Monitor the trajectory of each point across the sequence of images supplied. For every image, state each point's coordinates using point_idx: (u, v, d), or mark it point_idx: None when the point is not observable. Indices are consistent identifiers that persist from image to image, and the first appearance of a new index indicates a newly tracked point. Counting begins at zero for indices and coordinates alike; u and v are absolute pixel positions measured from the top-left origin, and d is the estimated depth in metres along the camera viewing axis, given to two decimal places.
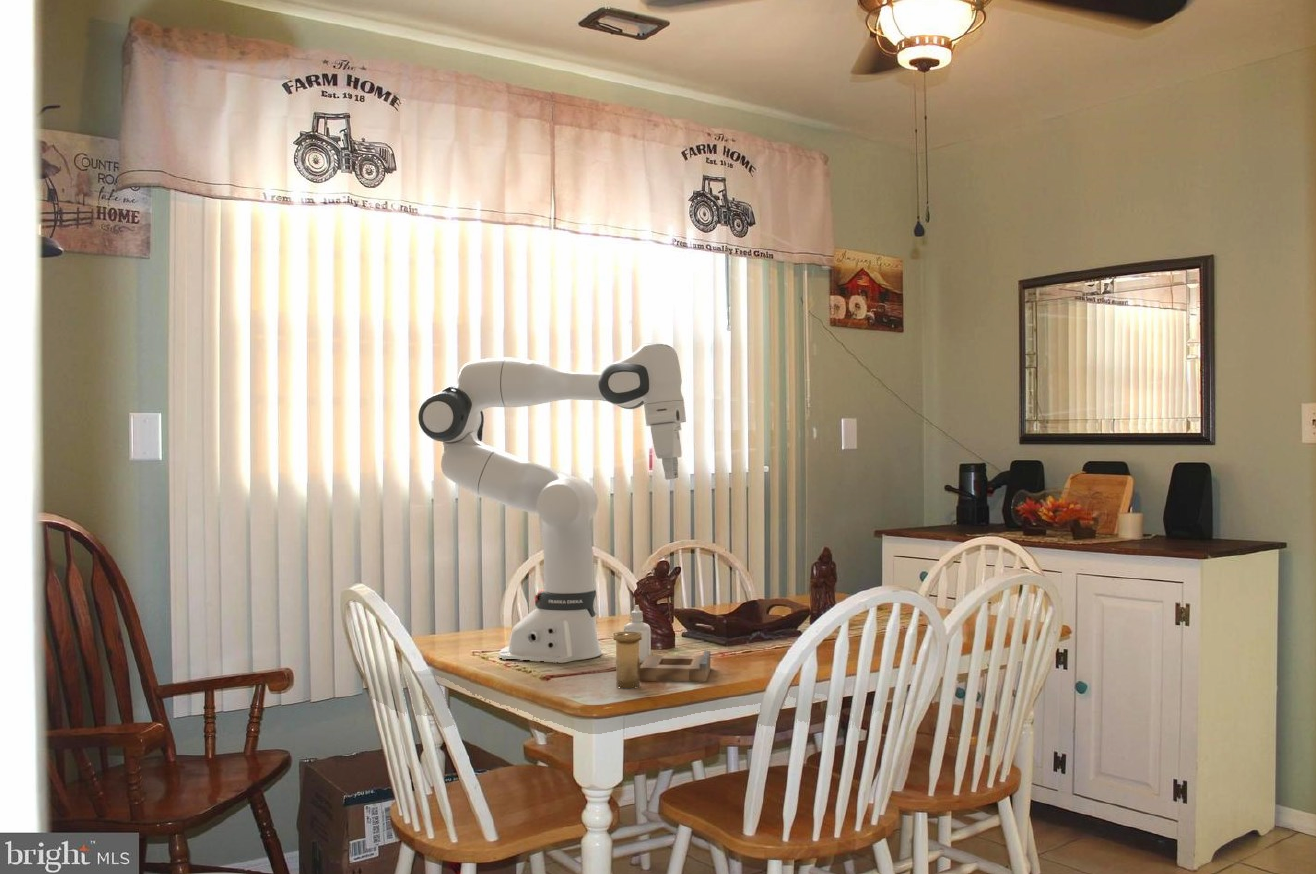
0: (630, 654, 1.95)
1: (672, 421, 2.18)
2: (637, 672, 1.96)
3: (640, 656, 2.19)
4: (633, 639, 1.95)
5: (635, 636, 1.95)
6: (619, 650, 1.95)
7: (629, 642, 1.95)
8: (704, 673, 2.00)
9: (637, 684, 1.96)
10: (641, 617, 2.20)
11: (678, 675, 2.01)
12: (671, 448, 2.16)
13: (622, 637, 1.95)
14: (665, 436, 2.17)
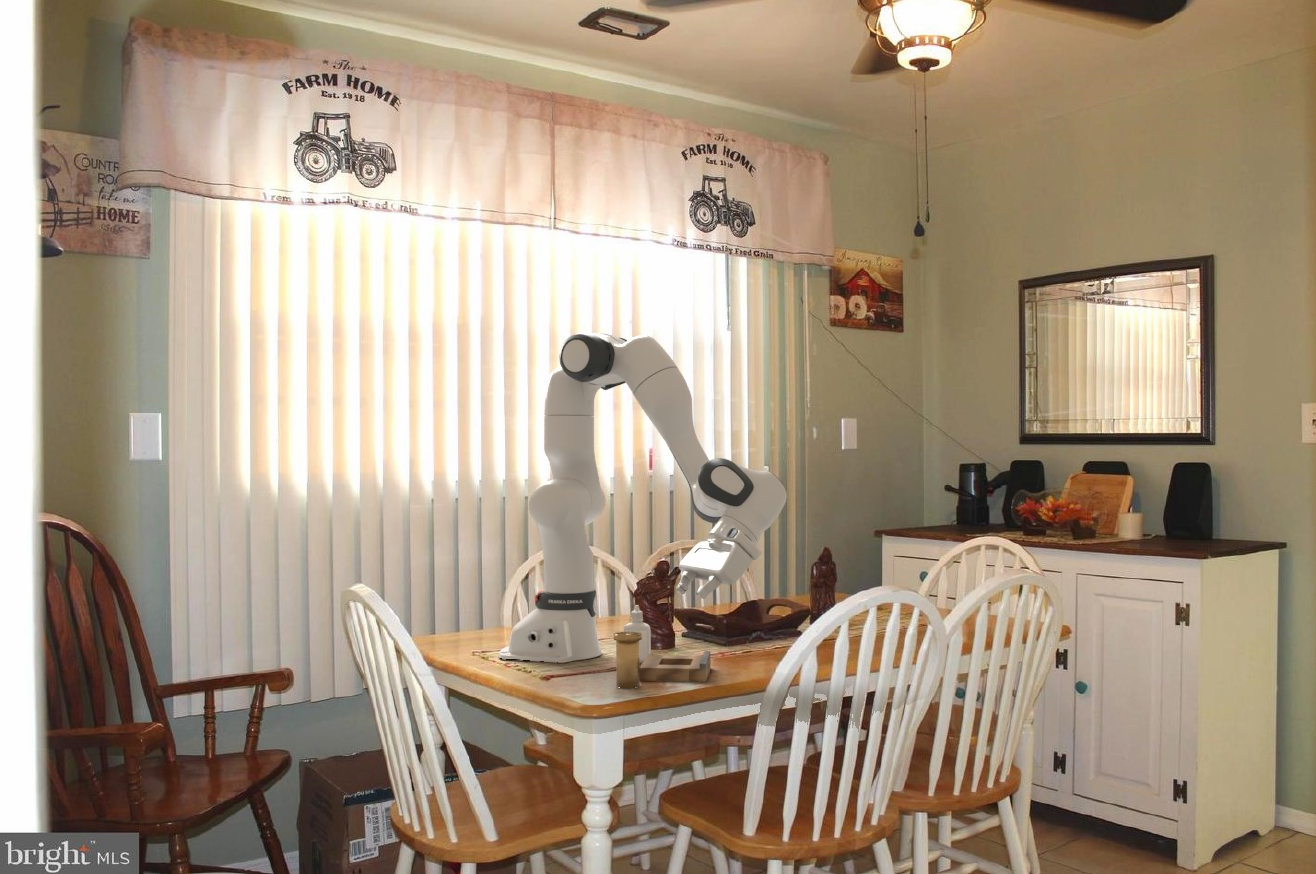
0: (630, 654, 1.95)
1: (753, 557, 2.00)
2: (637, 672, 1.96)
3: (640, 656, 2.19)
4: (633, 639, 1.95)
5: (635, 636, 1.95)
6: (619, 649, 1.95)
7: (629, 642, 1.95)
8: (704, 673, 2.00)
9: (637, 684, 1.96)
10: (641, 617, 2.20)
11: (678, 675, 2.01)
12: (737, 578, 1.96)
13: (622, 637, 1.95)
14: (742, 564, 1.97)
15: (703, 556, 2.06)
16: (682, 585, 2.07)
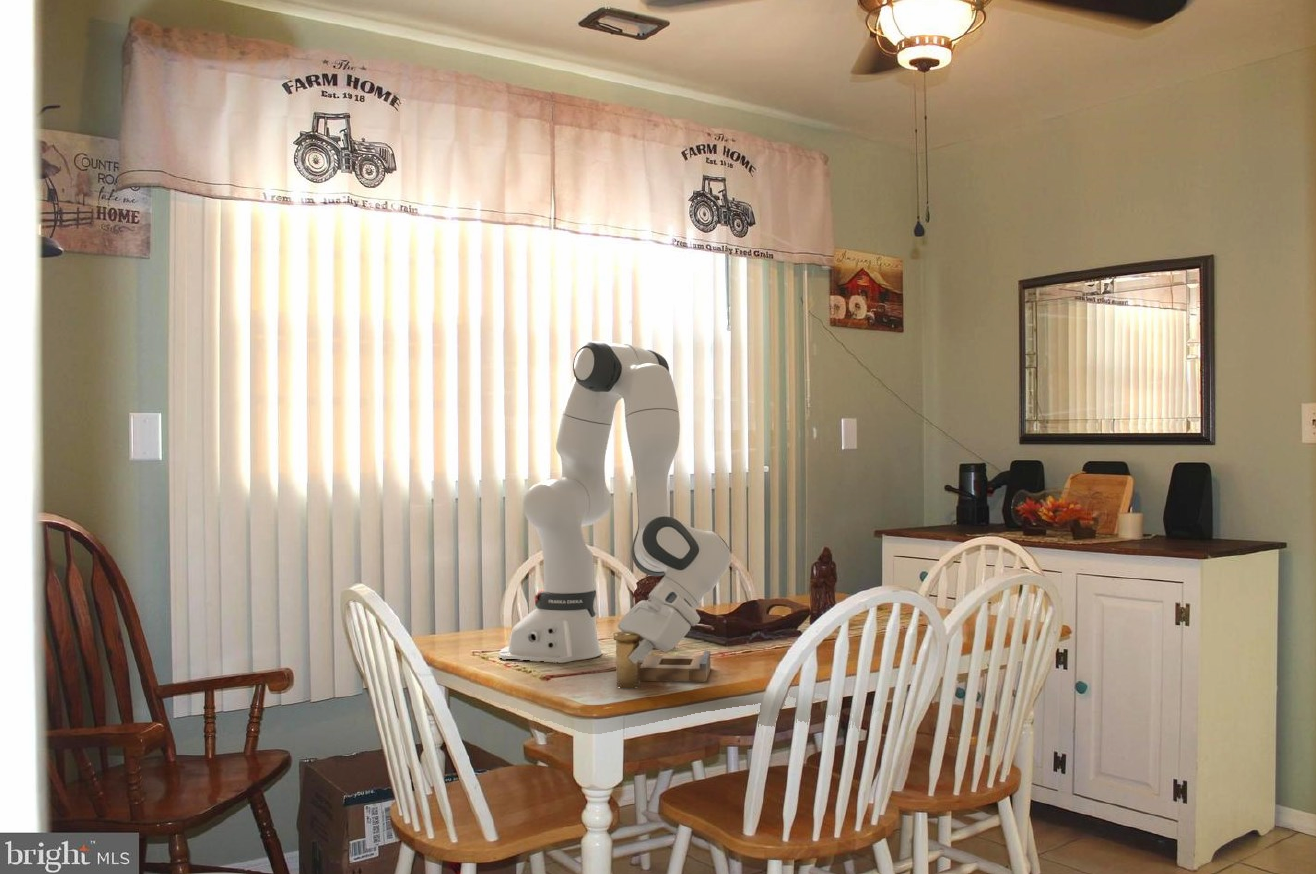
0: None
1: (691, 623, 1.94)
2: (637, 672, 1.96)
3: None
4: (633, 639, 1.95)
5: (635, 636, 1.95)
6: (619, 649, 1.95)
7: (629, 642, 1.95)
8: (704, 673, 2.00)
9: (637, 684, 1.96)
10: None
11: (678, 675, 2.01)
12: (674, 646, 1.90)
13: (622, 637, 1.95)
14: (679, 631, 1.91)
15: (641, 618, 2.00)
16: None
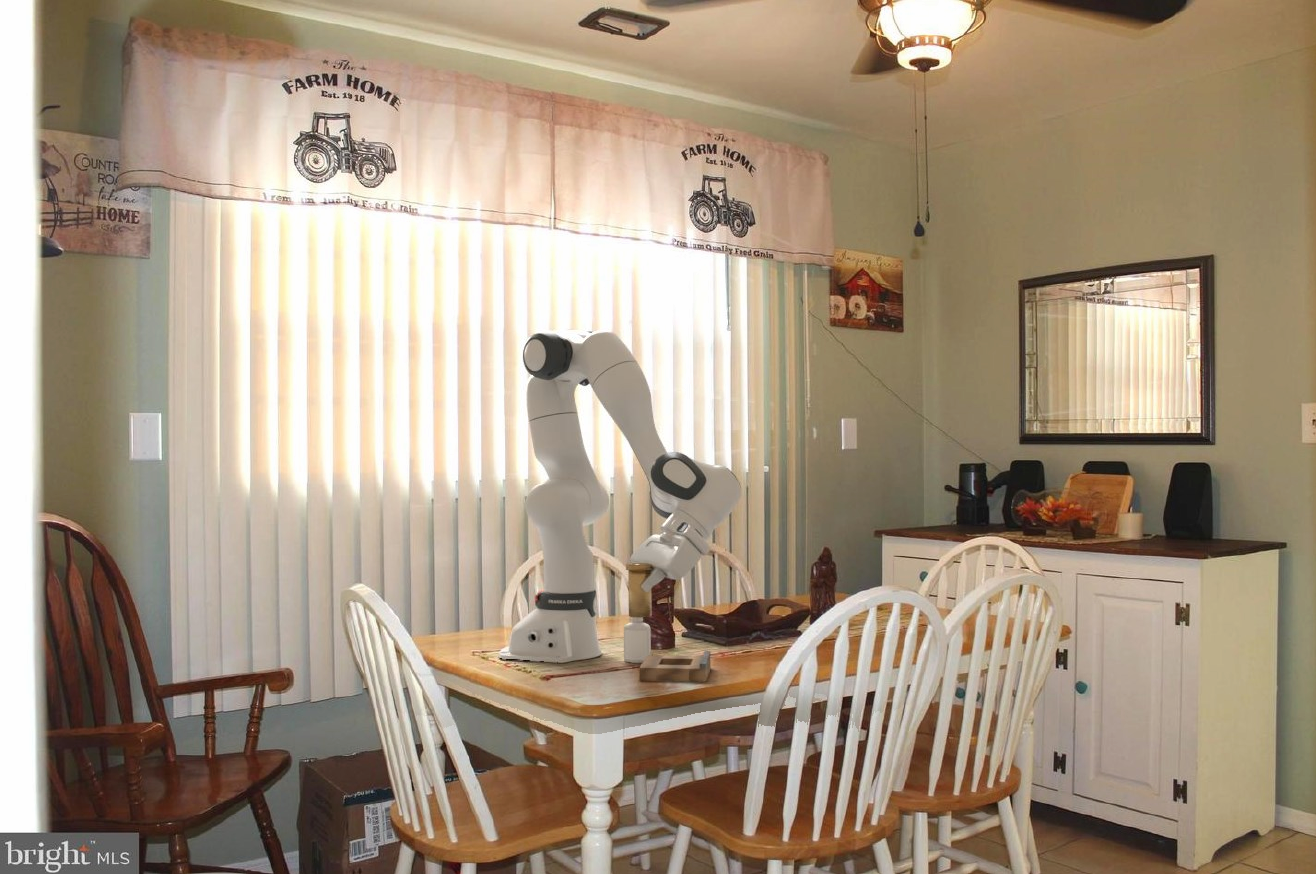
0: None
1: (702, 552, 1.96)
2: (649, 601, 1.99)
3: (640, 656, 2.19)
4: (645, 568, 1.98)
5: (647, 565, 1.98)
6: (631, 579, 1.98)
7: (641, 571, 1.98)
8: (704, 673, 2.00)
9: (649, 613, 1.99)
10: (641, 617, 2.20)
11: (678, 675, 2.01)
12: (685, 573, 1.93)
13: (634, 566, 1.98)
14: (690, 559, 1.94)
15: (653, 550, 2.03)
16: None
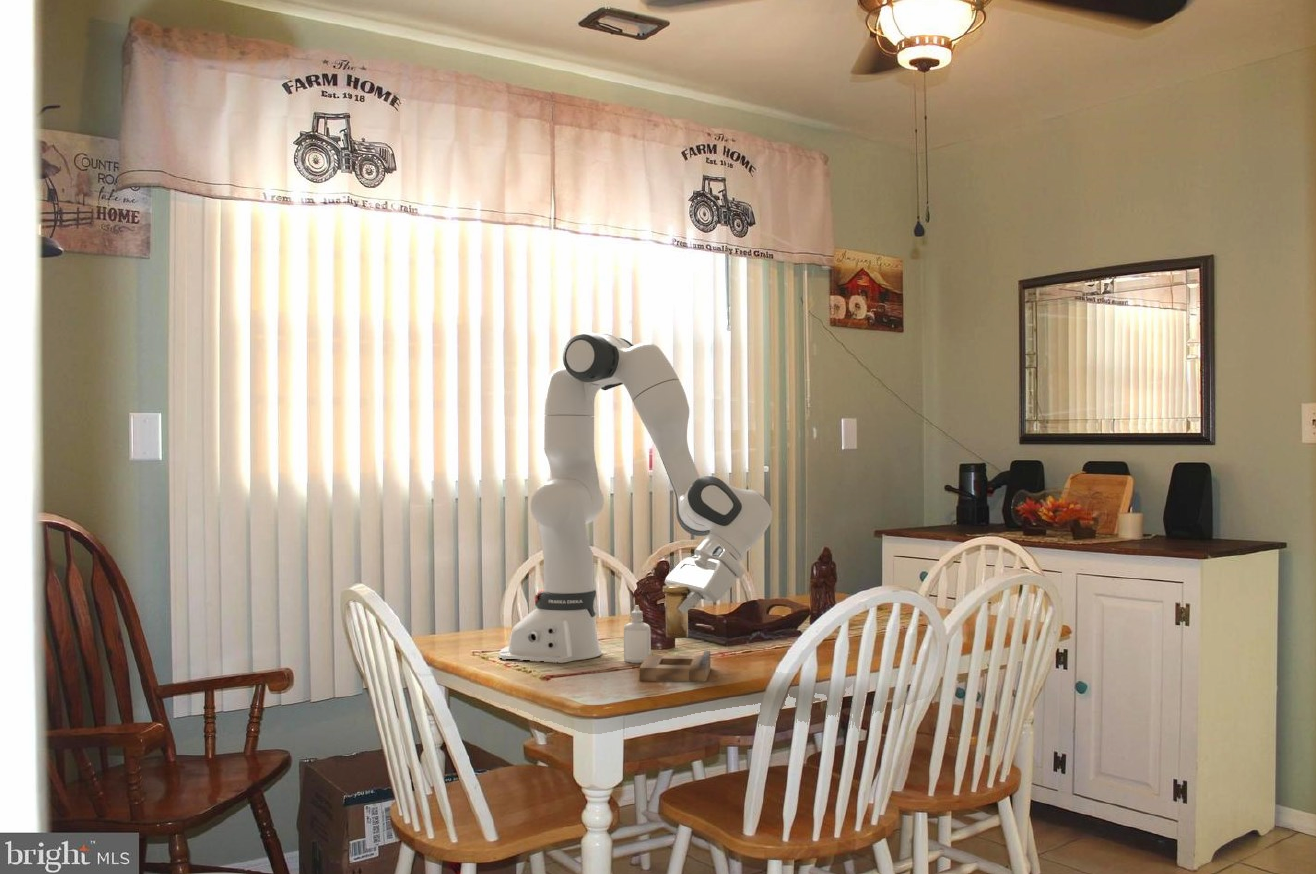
0: None
1: (737, 575, 2.04)
2: (686, 622, 2.06)
3: (640, 656, 2.19)
4: (682, 591, 2.05)
5: (684, 588, 2.06)
6: (669, 601, 2.06)
7: (678, 594, 2.06)
8: (704, 673, 2.00)
9: (686, 634, 2.06)
10: (641, 617, 2.20)
11: (678, 675, 2.01)
12: (721, 596, 2.01)
13: (671, 589, 2.05)
14: (726, 582, 2.01)
15: (688, 572, 2.11)
16: None
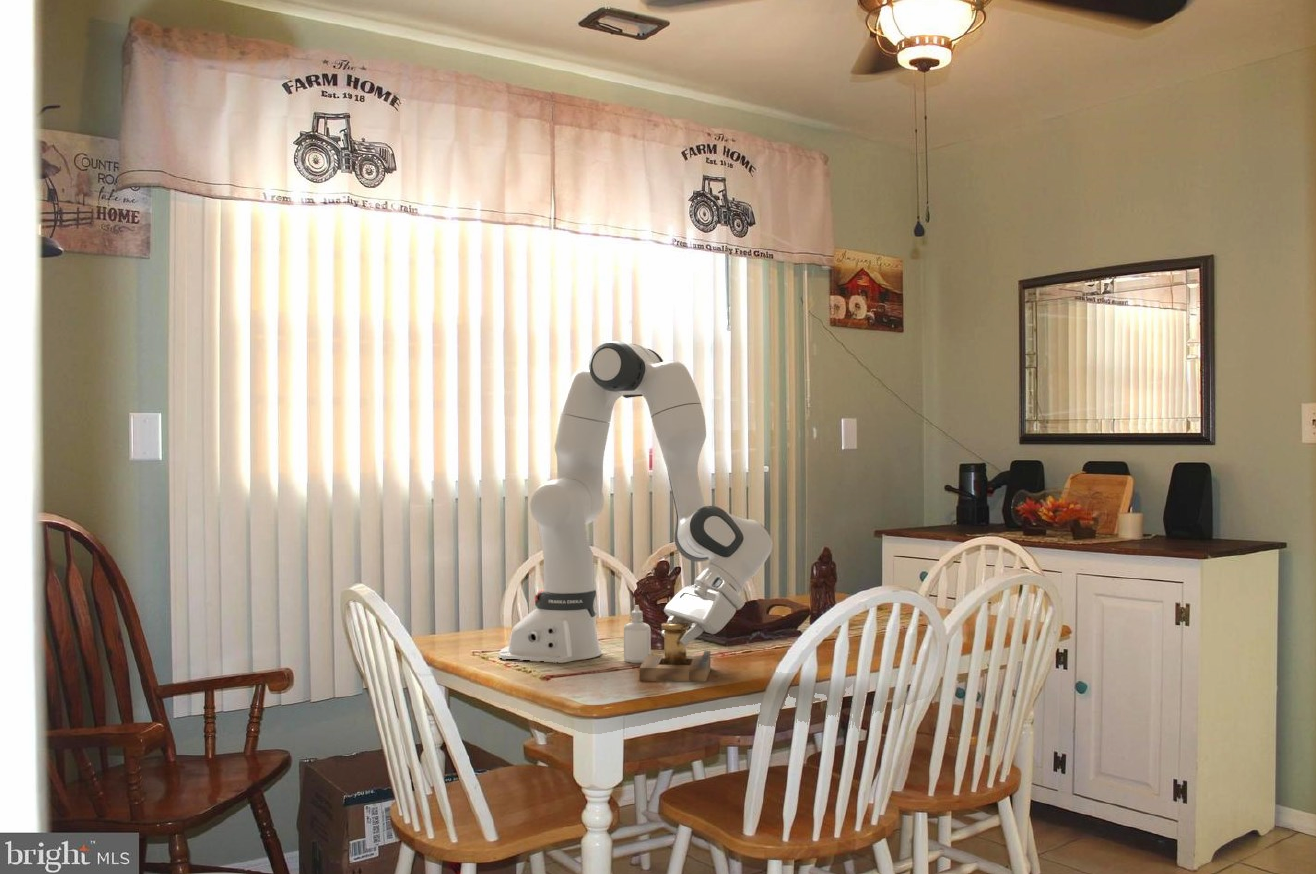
0: (677, 643, 2.06)
1: (736, 607, 2.04)
2: (684, 660, 2.06)
3: (640, 656, 2.19)
4: (681, 629, 2.05)
5: (682, 626, 2.06)
6: (667, 639, 2.06)
7: (677, 632, 2.06)
8: (704, 673, 2.00)
9: None
10: (641, 617, 2.20)
11: (678, 675, 2.01)
12: (721, 628, 2.01)
13: (670, 627, 2.05)
14: (725, 614, 2.01)
15: (688, 602, 2.11)
16: None
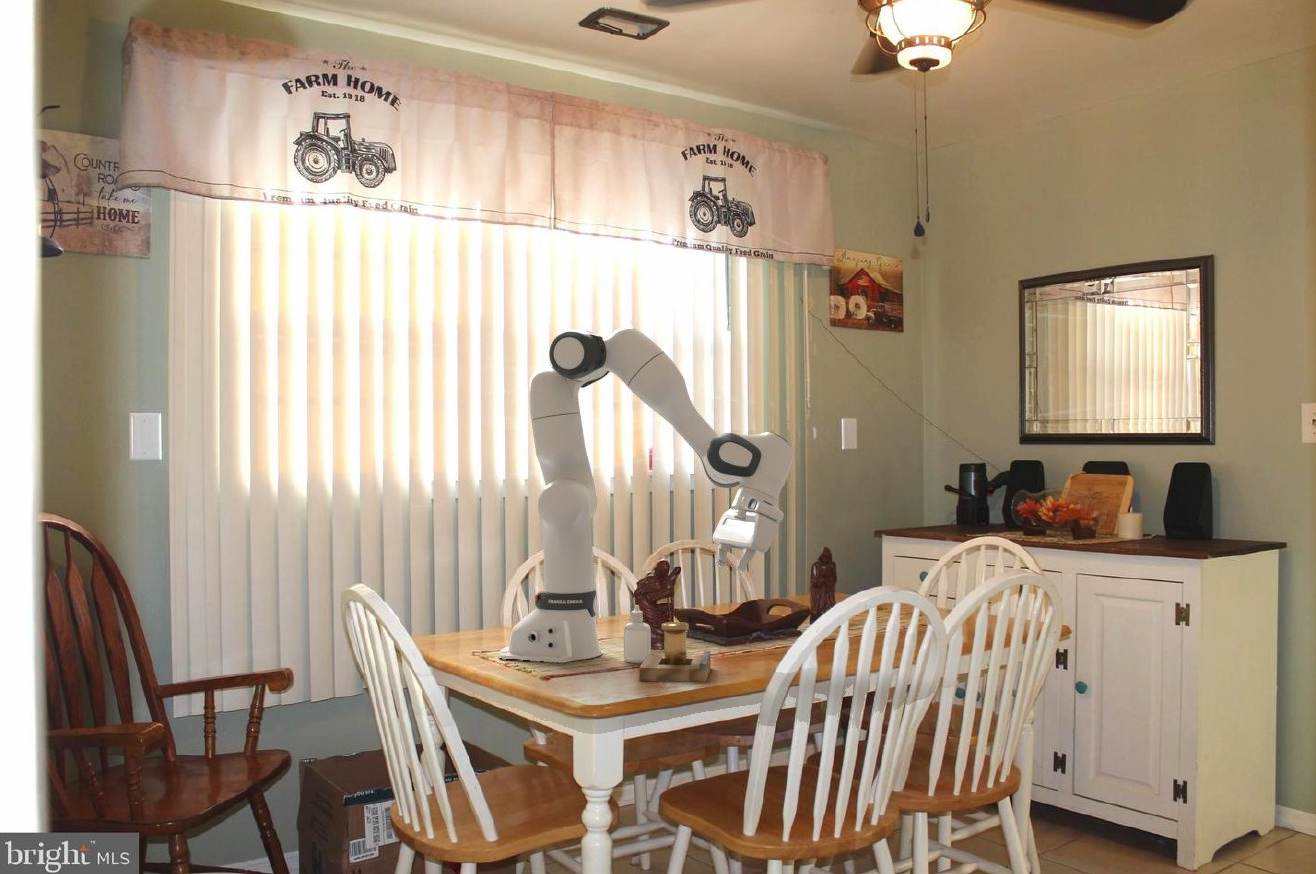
0: (678, 644, 2.05)
1: (777, 520, 2.11)
2: (684, 661, 2.06)
3: (640, 656, 2.19)
4: (681, 629, 2.05)
5: (683, 626, 2.05)
6: (668, 639, 2.06)
7: (677, 632, 2.05)
8: (704, 673, 2.00)
9: None
10: (641, 617, 2.20)
11: (678, 675, 2.01)
12: (769, 546, 2.09)
13: (670, 627, 2.05)
14: (769, 532, 2.09)
15: (732, 528, 2.19)
16: (720, 559, 2.20)
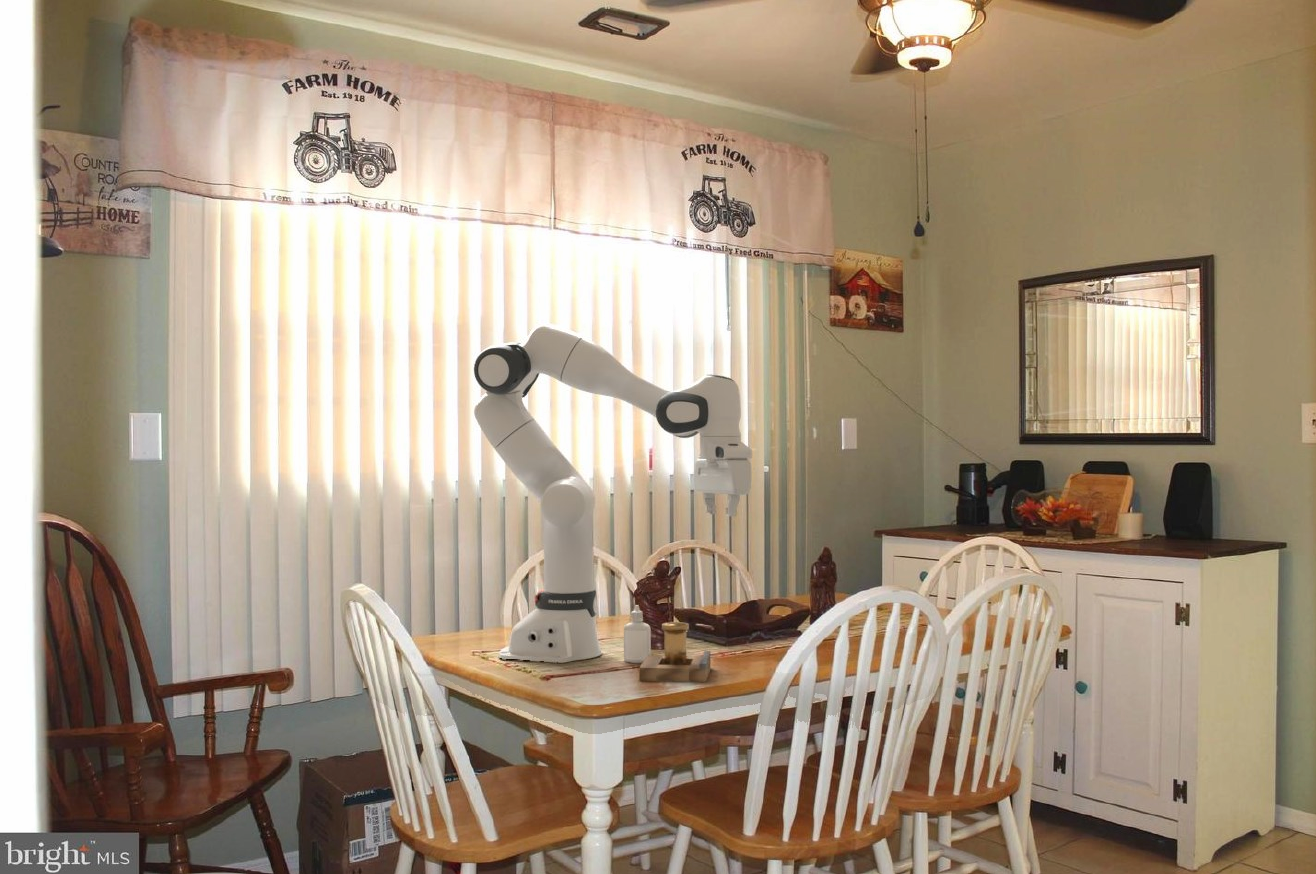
0: (678, 643, 2.06)
1: (748, 458, 2.15)
2: (684, 660, 2.06)
3: (640, 656, 2.19)
4: (681, 629, 2.05)
5: (683, 626, 2.06)
6: (668, 639, 2.06)
7: (677, 632, 2.06)
8: (704, 673, 2.00)
9: None
10: (641, 617, 2.20)
11: (678, 675, 2.01)
12: (750, 485, 2.13)
13: (671, 627, 2.05)
14: (745, 473, 2.12)
15: (709, 477, 2.22)
16: (709, 508, 2.24)
